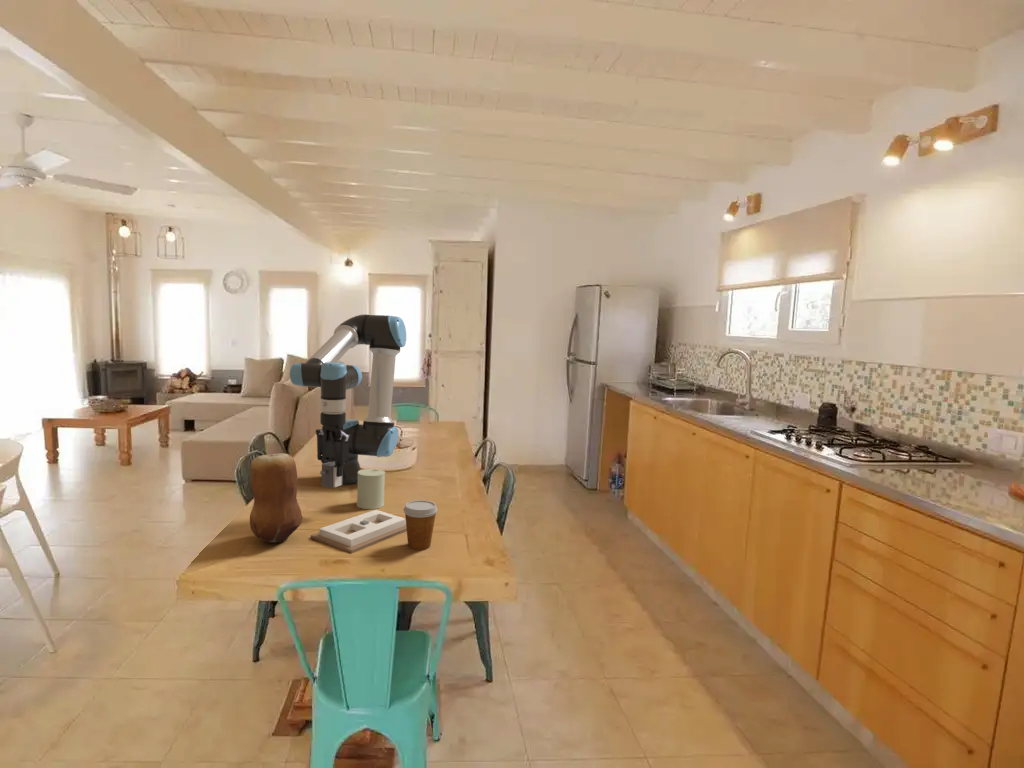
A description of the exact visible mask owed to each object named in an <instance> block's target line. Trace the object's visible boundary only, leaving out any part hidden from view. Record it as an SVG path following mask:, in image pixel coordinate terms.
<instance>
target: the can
mask: <svg viewBox="0 0 1024 768" xmlns="http://www.w3.org/2000/svg"><path fill="white" fill-rule="evenodd" d="M385 478H386V472H385V470H384V469H380V468H364V469H361V470H360V471H358V482H357V491H356V492H357V493H356V495H357V497H356V498H357V500H356V507H357V508H358V509H361V508H362V510H378V509H380V508H383V507H384V506H385V481H386V479H385ZM377 508H378V509H377Z"/></svg>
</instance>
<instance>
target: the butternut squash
mask: <svg viewBox="0 0 1024 768" xmlns="http://www.w3.org/2000/svg"><path fill="white" fill-rule="evenodd" d="M297 470H298V469H297V464H296V461H295V459H294V458H293V457H292V455H290V454H288V453H284V452H283V453H282V452H281V453H279V452H278V453H272V454H262V455H259V456H256V457H255V458H253V460H252V461H251V466H250V485H251V491H252V494H253V499H254V500H253V506H252V508H251V511H250V514H249V527H250V529H251V532H252V533H253V535H254V536H255V537H256V538H257V539H260V540H263V541H265V542H267V543H283V542H284V541H286V540H287V539H288V538H289V537H290V536H291V535H292V534H293V533H294V532H295V531H296V530H297V529H298V528H299V527H300V525H301V523H302V519H303V516H302V511H301V510H302V509H301V507H300V505H299V502H298V499H297V493H298V471H297Z"/></svg>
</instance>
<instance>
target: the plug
mask: <svg viewBox="0 0 1024 768" xmlns="http://www.w3.org/2000/svg"><path fill="white" fill-rule="evenodd" d="M334 465H335V461H334V462H330V463H326V464H322V463H321V470H320V472H319V474H320V476H321V487H324V488H327V489H333V488H335V487H333V467H334ZM340 486H343V475H342V485H340ZM340 486H339V487H340Z"/></svg>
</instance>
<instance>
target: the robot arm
mask: <svg viewBox="0 0 1024 768" xmlns="http://www.w3.org/2000/svg"><path fill="white" fill-rule="evenodd" d="M406 342H407V330H406V324H405V322H404V320H403V319H402V318H401V317H399V316H394V315H383V314H382V315H378V314H359V315H355V316H353V317H350V318H348V319H346V320H344V321H343V322H342V323H340V324H338V325H337V327H336V328H335V329H334V332H333V335H332V336H331V337H329V339H328V340H326V342H324V344H322V346H320V348H318V350H317V351H315V353H313V355H312V356H311V357H310V358H309V359H307V361H305V362H304V363H303V362H295V363H293V364H292V365H291V366H290V370H289V380H290V383H291V384H292V385H294V386H300V387H310V388H311V387H312V388H320V411H321V412H320V415H319V417H320V422H319V423H320V424H321V426H322V427H321V428H318V429H316V430H315V434H316V450H317V451H316V453H317V457H316V458H317V460H318V461H321V462H320V463H321V465H322V464H326V463H330V462H334V461H335V465H334V467H333V487H334V488H337V487H340V485H341V486H343V485H344V484H346V485H352V484H356V483H357V484H358V471H360V470H362V469H361V466H360V462H359V455H360V456H369V457H370V456H371V457H377V458H383V457H384V458H387V457H391V456H392V455H393V454H394V451H395V450H396V448H397V445H398V442H399V435H400V434H399V428H398V427H397V426H395V421H394V420H393V419H392V403H393V394H394V380H395V369H396V367H395V366H396V357H397V355H398V354H399V353H401V348H404V347H405V346H406ZM358 345H365V346H369V348H368V349H369V351H370V352H371V353H372V363H371V372H370V373H371V374H370V388H369V399H368V409H367V410H368V411H367V416H366V418H364V419H363V421H362V422H363V423H362V424H360V421H359V419H353V418H352V419H351V418H350V419H346V418H347V417H346V410H347V401H346V400H347V396H346V395H347V390H351V389H354V388H356V387H357V386H359V385H360V383H361V382H362V379H363V374H362V370H361V369H360V368H359V367H358V366H356V365H353V364H352V365H351V364H350V365H349V364H347V365H346V364H345V363H344V362H339V361H340V359H342V357H343V356H344V355H345V354H346V353H347V352H348V351H349V350H350V349H353V348H355V347H357V346H358ZM342 475H343V485H342Z"/></svg>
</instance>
